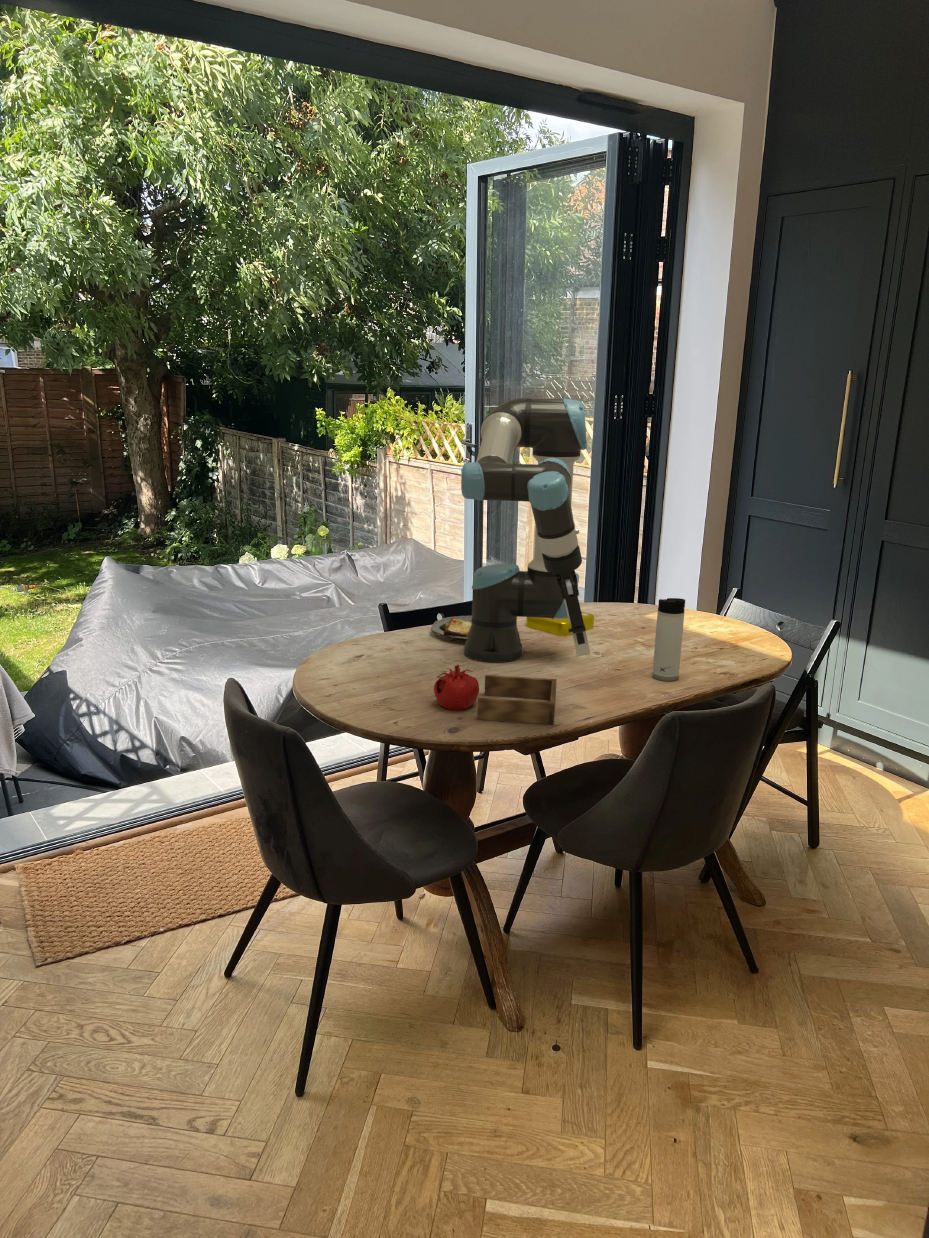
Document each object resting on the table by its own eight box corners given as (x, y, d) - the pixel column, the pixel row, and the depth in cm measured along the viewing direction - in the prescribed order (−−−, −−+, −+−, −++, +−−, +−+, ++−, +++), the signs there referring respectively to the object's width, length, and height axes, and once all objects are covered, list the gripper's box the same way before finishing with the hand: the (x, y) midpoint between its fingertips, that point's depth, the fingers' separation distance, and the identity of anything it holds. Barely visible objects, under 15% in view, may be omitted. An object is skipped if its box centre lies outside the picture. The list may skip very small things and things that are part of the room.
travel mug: (664, 683, 211) (671, 601, 206) (646, 675, 216) (653, 595, 211) (684, 679, 214) (692, 599, 208) (666, 671, 219) (673, 593, 214)
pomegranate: (482, 700, 198) (484, 660, 195) (472, 715, 188) (475, 673, 186) (439, 694, 200) (441, 655, 197) (427, 709, 190) (429, 668, 188)
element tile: (523, 627, 257) (523, 611, 256) (556, 618, 267) (557, 603, 266) (563, 638, 247) (563, 622, 246) (596, 629, 257) (597, 613, 256)
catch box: (477, 719, 186) (477, 699, 185) (484, 693, 201) (485, 674, 200) (553, 724, 184) (554, 704, 183) (555, 698, 199) (556, 679, 198)
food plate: (509, 648, 235) (509, 635, 234) (423, 643, 239) (423, 630, 238) (520, 626, 259) (520, 614, 258) (442, 621, 263) (442, 610, 262)
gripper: (587, 574, 165) (606, 665, 175) (570, 518, 186) (588, 602, 197) (548, 583, 165) (569, 673, 176) (535, 526, 187) (554, 610, 197)
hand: (579, 636), depth 186 cm, fingers open, 13 cm apart
